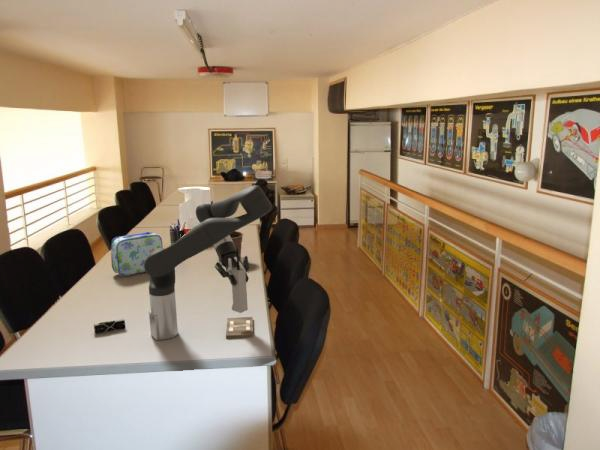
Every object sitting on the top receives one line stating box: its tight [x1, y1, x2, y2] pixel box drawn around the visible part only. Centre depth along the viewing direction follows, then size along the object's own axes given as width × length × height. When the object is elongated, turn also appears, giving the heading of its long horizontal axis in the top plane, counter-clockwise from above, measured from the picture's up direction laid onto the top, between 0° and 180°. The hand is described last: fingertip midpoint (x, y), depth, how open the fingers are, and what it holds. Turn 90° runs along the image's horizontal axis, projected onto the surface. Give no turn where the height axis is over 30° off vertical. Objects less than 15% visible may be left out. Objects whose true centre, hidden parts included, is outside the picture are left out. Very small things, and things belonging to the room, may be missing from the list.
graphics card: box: [93, 318, 126, 335], centre depth 191 cm, size 12×3×5 cm, turn 116°
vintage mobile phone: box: [231, 249, 249, 314], centre depth 187 cm, size 4×5×25 cm
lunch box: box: [110, 231, 164, 277], centre depth 261 cm, size 26×11×21 cm, turn 131°
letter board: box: [225, 316, 254, 339], centre depth 192 cm, size 16×10×1 cm, turn 6°
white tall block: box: [177, 186, 212, 229], centre depth 322 cm, size 35×11×21 cm
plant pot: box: [217, 230, 244, 262], centre depth 276 cm, size 16×16×16 cm
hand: (240, 283), depth 186 cm, fingers closed on vintage mobile phone, 4 cm apart
